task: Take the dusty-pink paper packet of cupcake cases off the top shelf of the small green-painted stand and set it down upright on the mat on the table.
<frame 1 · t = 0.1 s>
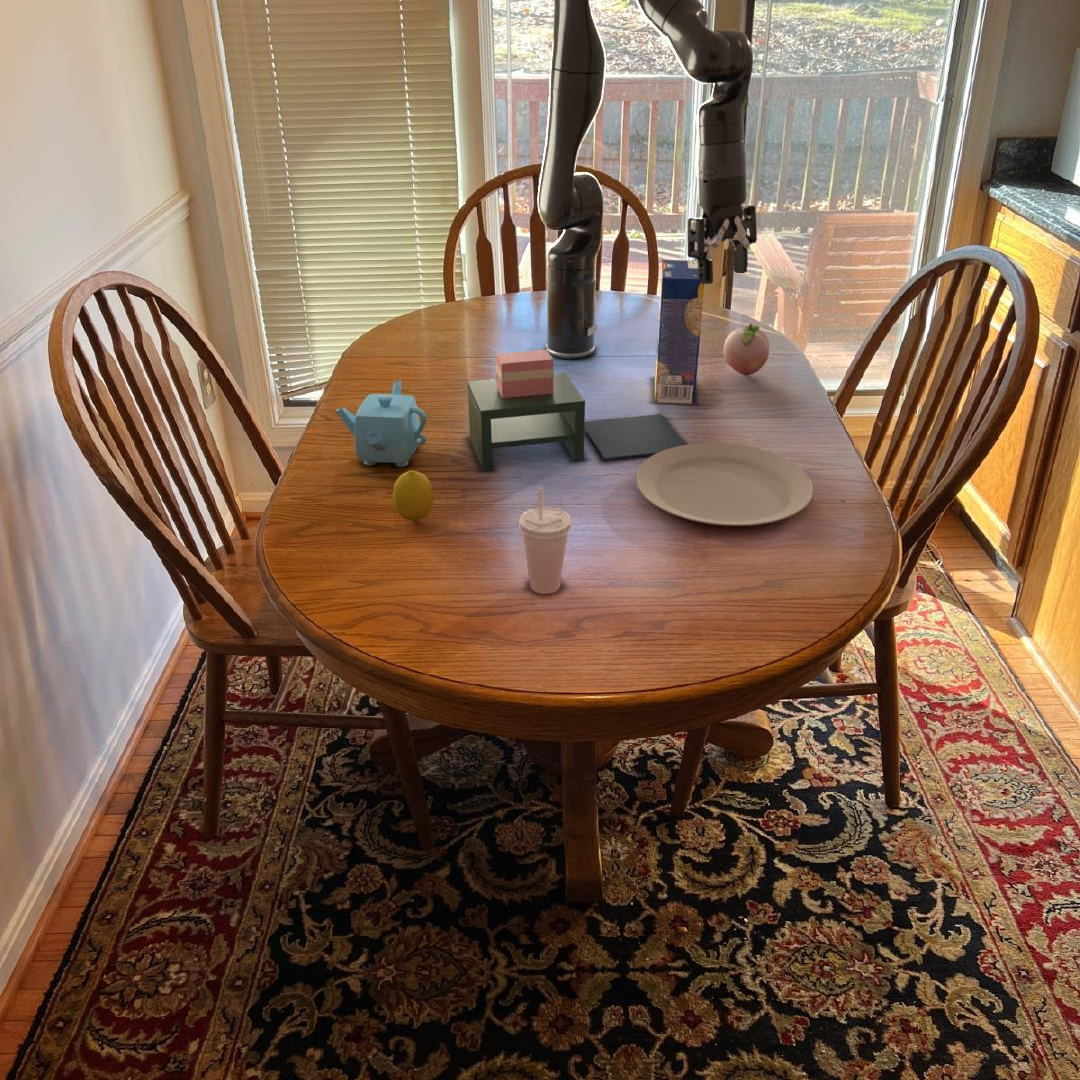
hand: (723, 278, 164), 22 cm above the table, tool pointing down, fingers open, 8 cm apart
lemon: (415, 522, 142), on the table
mat: (633, 437, 165), on the table
beverage box: (674, 392, 181), on the table
shelf stand: (525, 449, 161), on the table
plate: (722, 493, 149), on the table
decorative fruit: (743, 376, 188), on the table
smoothie: (545, 587, 128), on the table
packet: (524, 390, 156), point 10 cm above the table, touching shelf stand
teapot: (385, 456, 160), on the table
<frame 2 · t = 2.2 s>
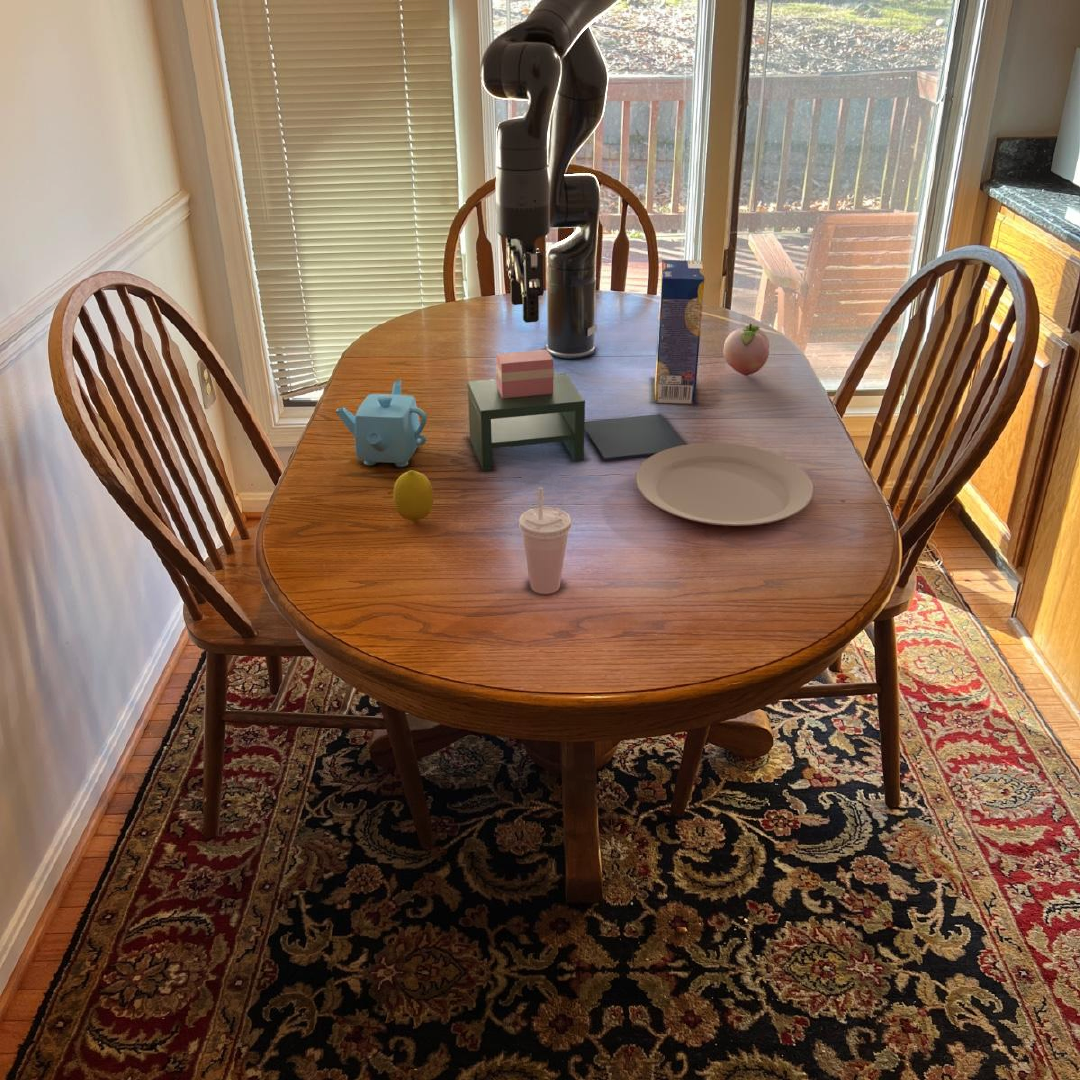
hand: (524, 312, 150), 22 cm above the table, tool pointing down, fingers open, 8 cm apart
nothing on the table moved.
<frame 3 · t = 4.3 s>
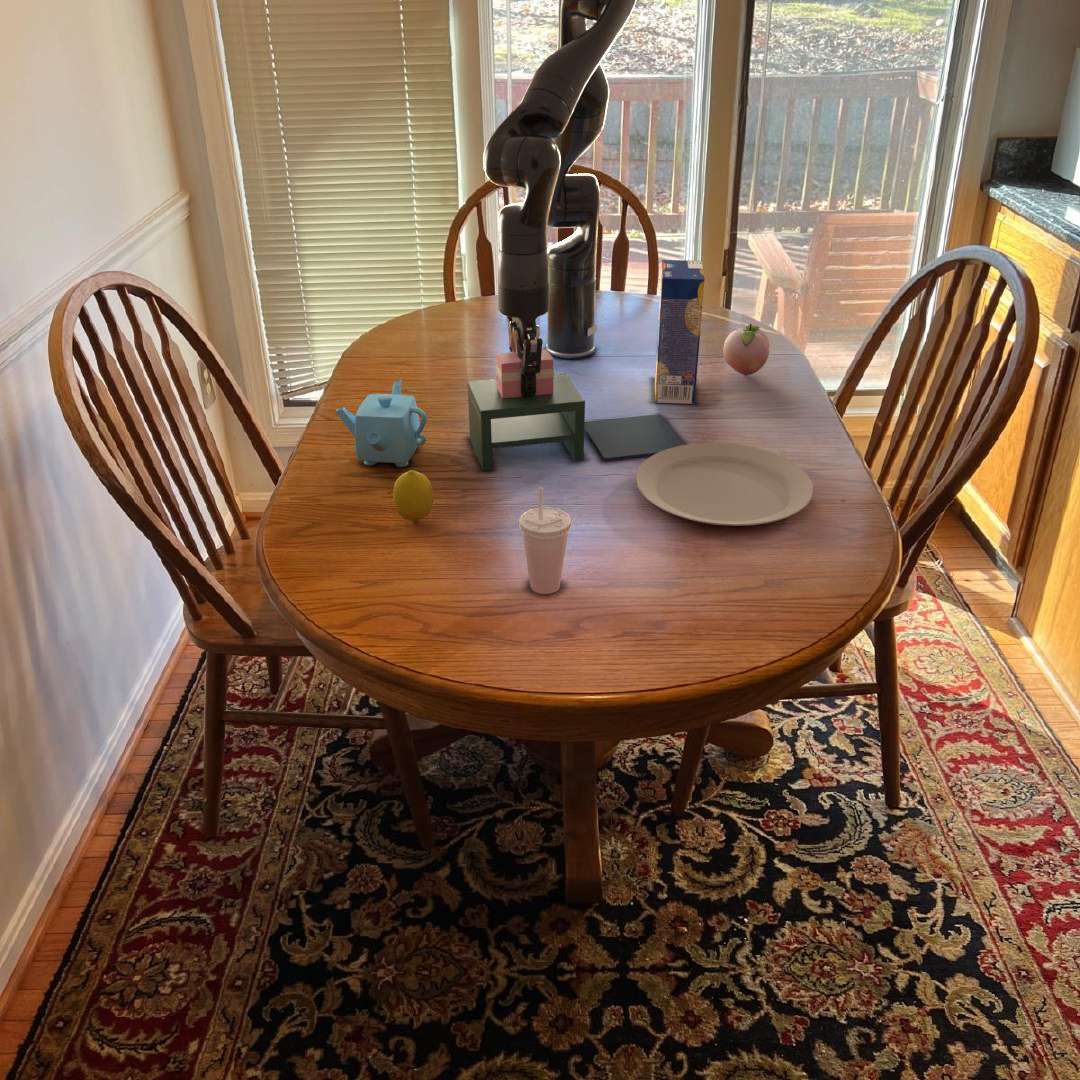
hand: (524, 388, 156), 10 cm above the table, tool pointing down, fingers closed on packet, 4 cm apart
packet: (524, 390, 156), point 10 cm above the table, touching gripper, shelf stand
everything else where it was.
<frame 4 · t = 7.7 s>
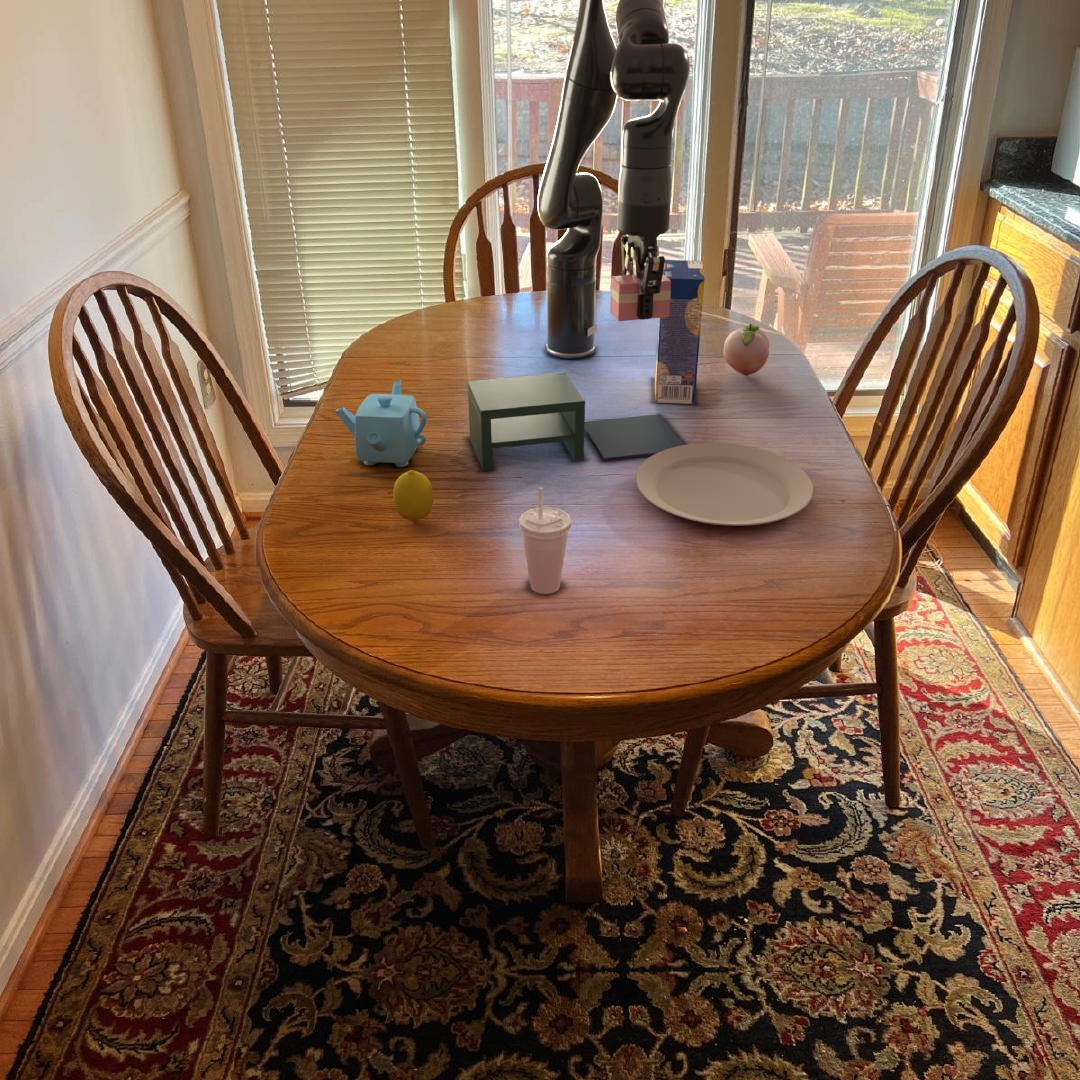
hand: (639, 312, 154), 21 cm above the table, tool pointing down, fingers closed on packet, 4 cm apart
packet: (639, 314, 154), point 21 cm above the table, touching gripper
everything else where it was.
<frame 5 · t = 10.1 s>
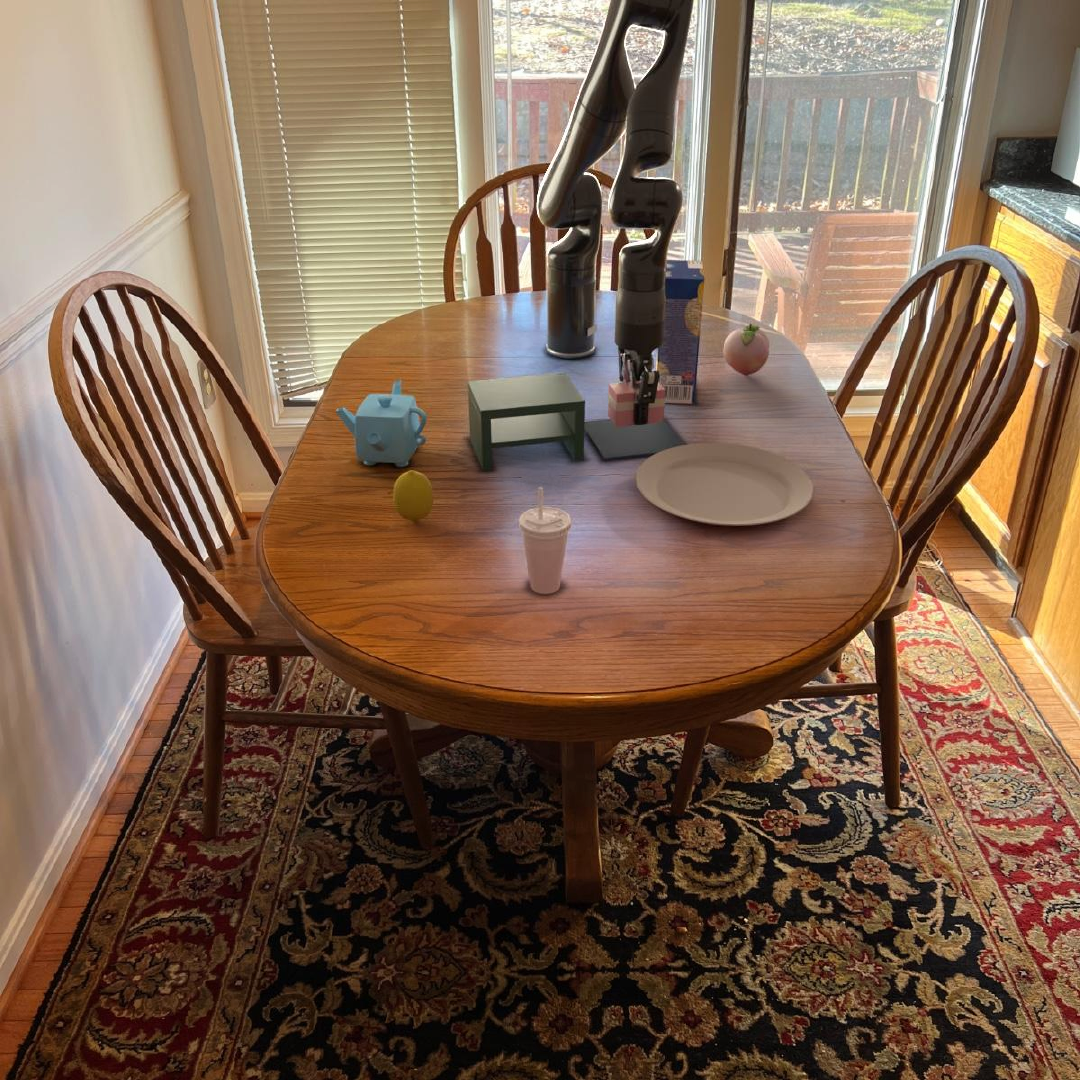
hand: (635, 417, 163), 4 cm above the table, tool pointing down, fingers closed on packet, 4 cm apart
packet: (635, 419, 163), point 3 cm above the table, touching gripper
everything else where it was.
when the fingers open (1 cm above the table, at t = 11.5 s): packet stays where it is, resting on mat.
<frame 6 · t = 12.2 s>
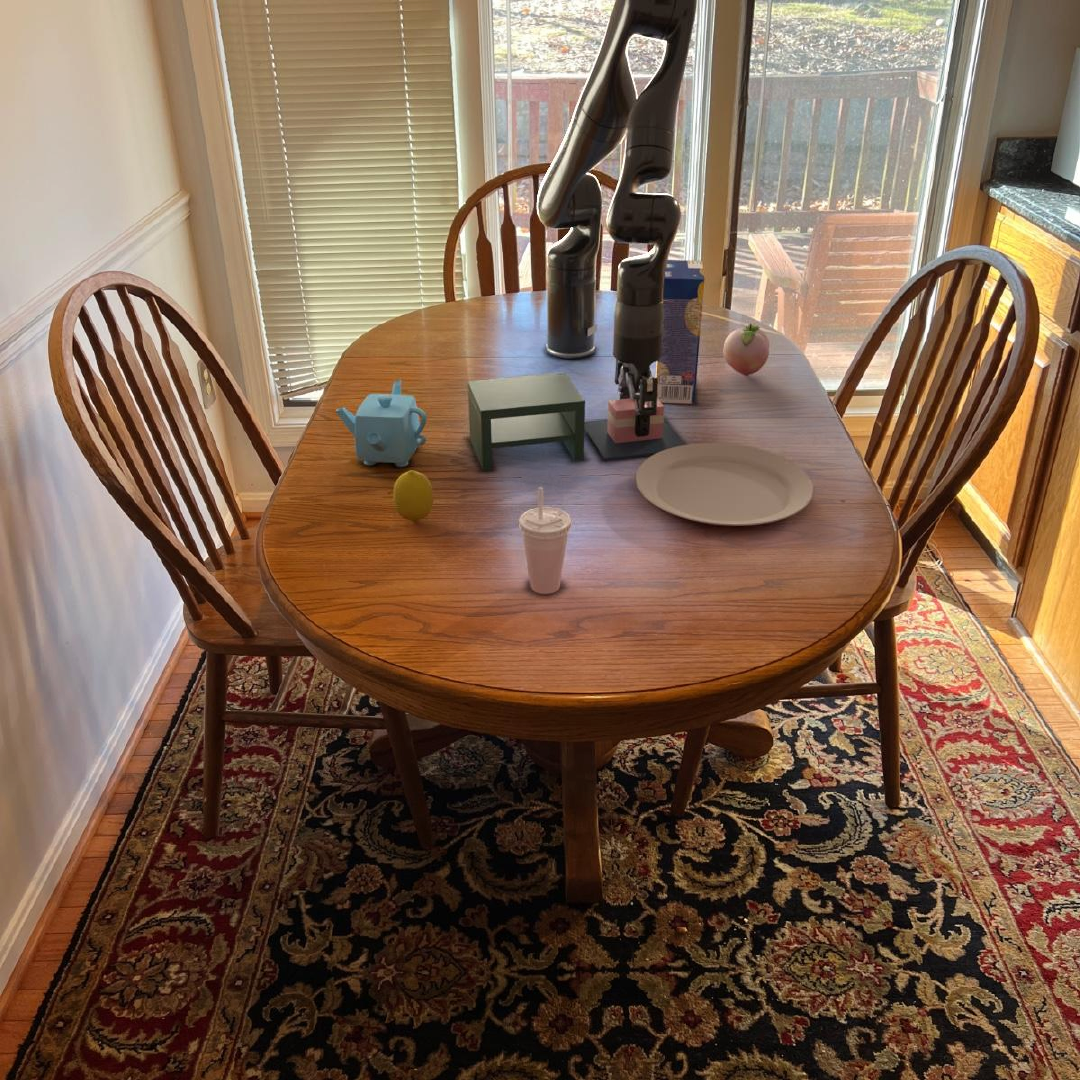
hand: (633, 424, 163), 2 cm above the table, tool pointing down, fingers open, 8 cm apart
packet: (634, 435, 164), resting on mat
everything else where it was.
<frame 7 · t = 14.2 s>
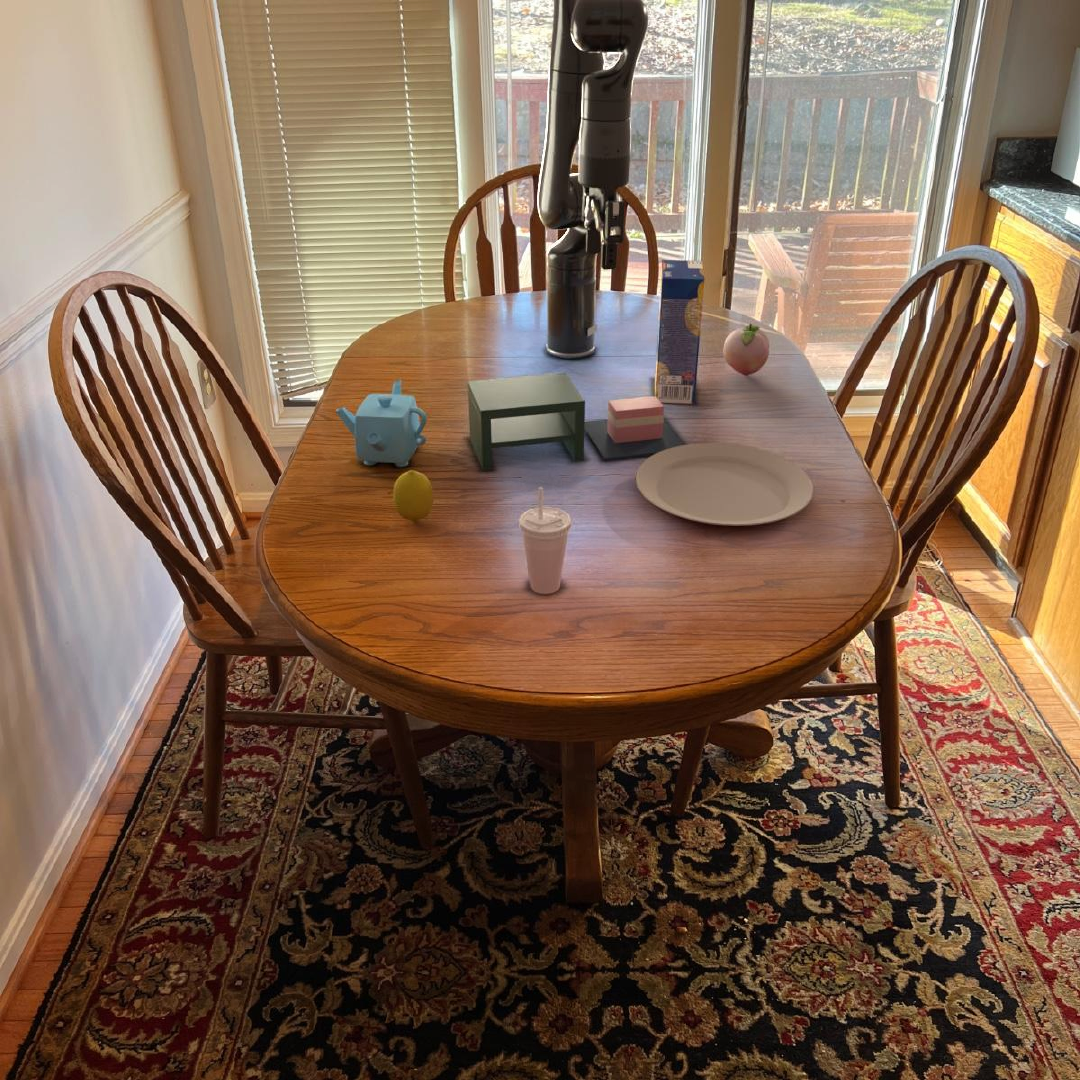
hand: (600, 260, 156), 27 cm above the table, tool pointing down, fingers open, 8 cm apart
nothing on the table moved.
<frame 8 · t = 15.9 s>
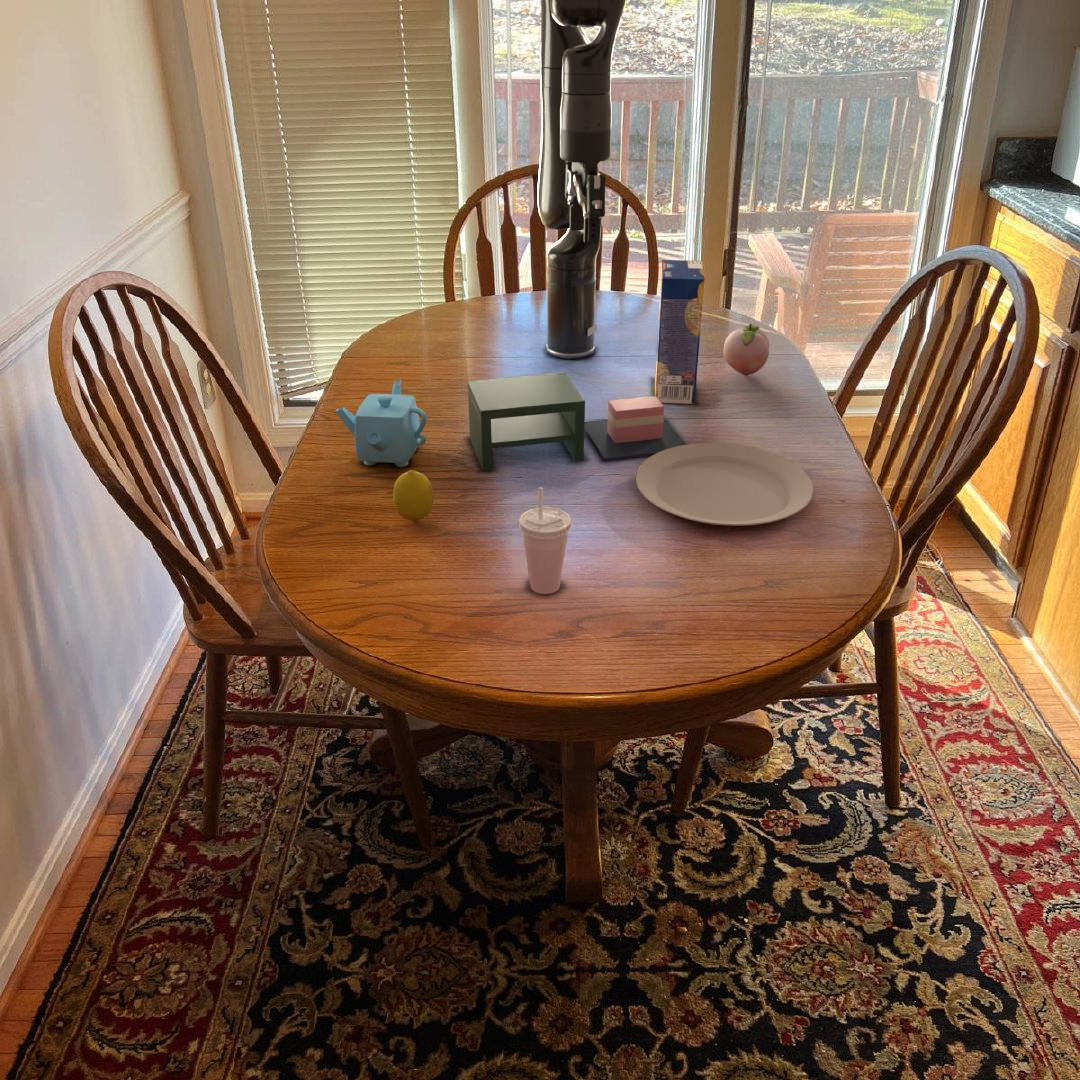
hand: (583, 236, 157), 30 cm above the table, tool pointing down, fingers open, 8 cm apart
nothing on the table moved.
at the end: packet inside the target area (0.1 cm from its centre), point 0.5 cm above the table; packet tilted 0°; the gripper is holding nothing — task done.
